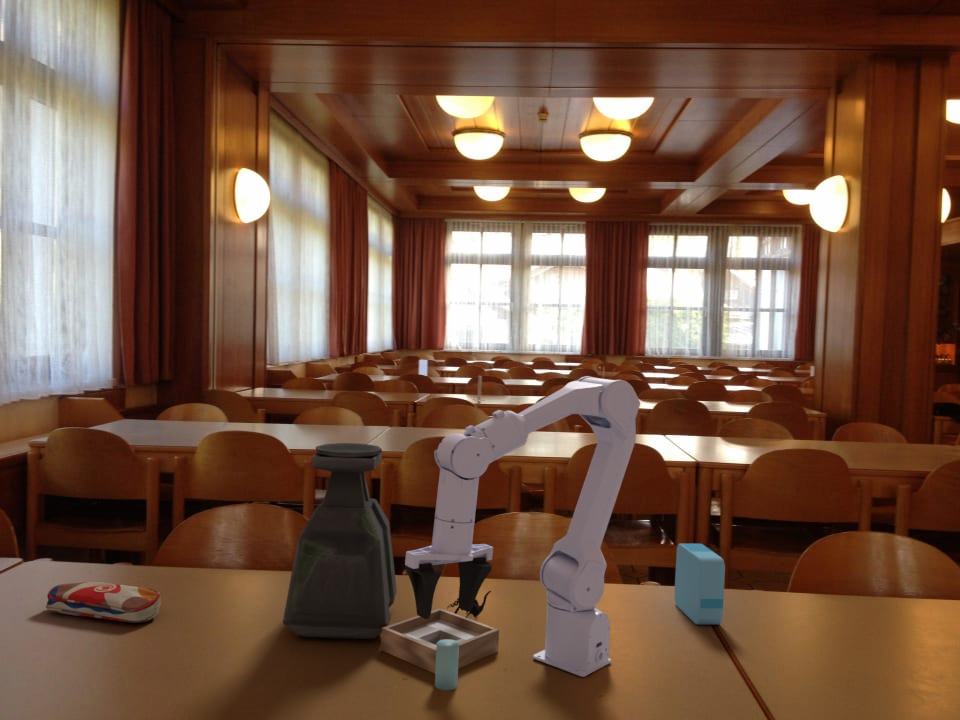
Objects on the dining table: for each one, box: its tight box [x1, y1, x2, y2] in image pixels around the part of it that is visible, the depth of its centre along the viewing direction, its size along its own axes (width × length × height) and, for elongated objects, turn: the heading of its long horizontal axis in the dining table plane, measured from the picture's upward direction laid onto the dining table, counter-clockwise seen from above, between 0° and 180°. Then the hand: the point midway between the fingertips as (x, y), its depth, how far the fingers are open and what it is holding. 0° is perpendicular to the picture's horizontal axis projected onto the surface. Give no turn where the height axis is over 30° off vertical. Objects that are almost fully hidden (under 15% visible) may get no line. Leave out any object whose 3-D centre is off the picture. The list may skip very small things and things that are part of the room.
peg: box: [434, 639, 459, 691], centre depth 112 cm, size 3×3×6 cm
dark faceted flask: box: [282, 442, 398, 640], centre depth 133 cm, size 18×16×30 cm
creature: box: [446, 590, 492, 619], centre depth 140 cm, size 8×5×8 cm
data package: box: [674, 543, 726, 626], centre depth 145 cm, size 12×4×12 cm, turn 6°
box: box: [380, 607, 500, 675], centre depth 124 cm, size 13×13×4 cm
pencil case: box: [45, 581, 162, 624], centre depth 134 cm, size 11×20×5 cm, turn 62°
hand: (444, 613), depth 113 cm, fingers open, 7 cm apart
